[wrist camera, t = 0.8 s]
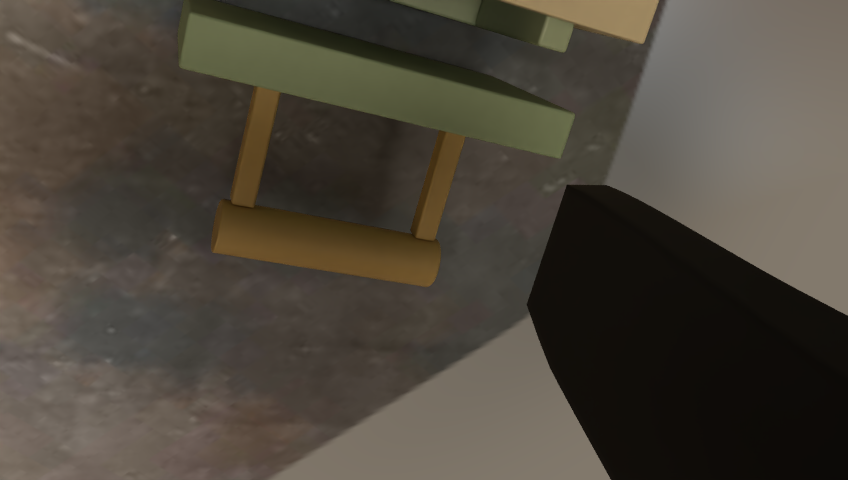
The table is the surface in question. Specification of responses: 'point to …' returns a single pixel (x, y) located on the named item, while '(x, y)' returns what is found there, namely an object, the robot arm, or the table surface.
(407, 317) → the table surface
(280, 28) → the drawer
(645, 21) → the cabinet
